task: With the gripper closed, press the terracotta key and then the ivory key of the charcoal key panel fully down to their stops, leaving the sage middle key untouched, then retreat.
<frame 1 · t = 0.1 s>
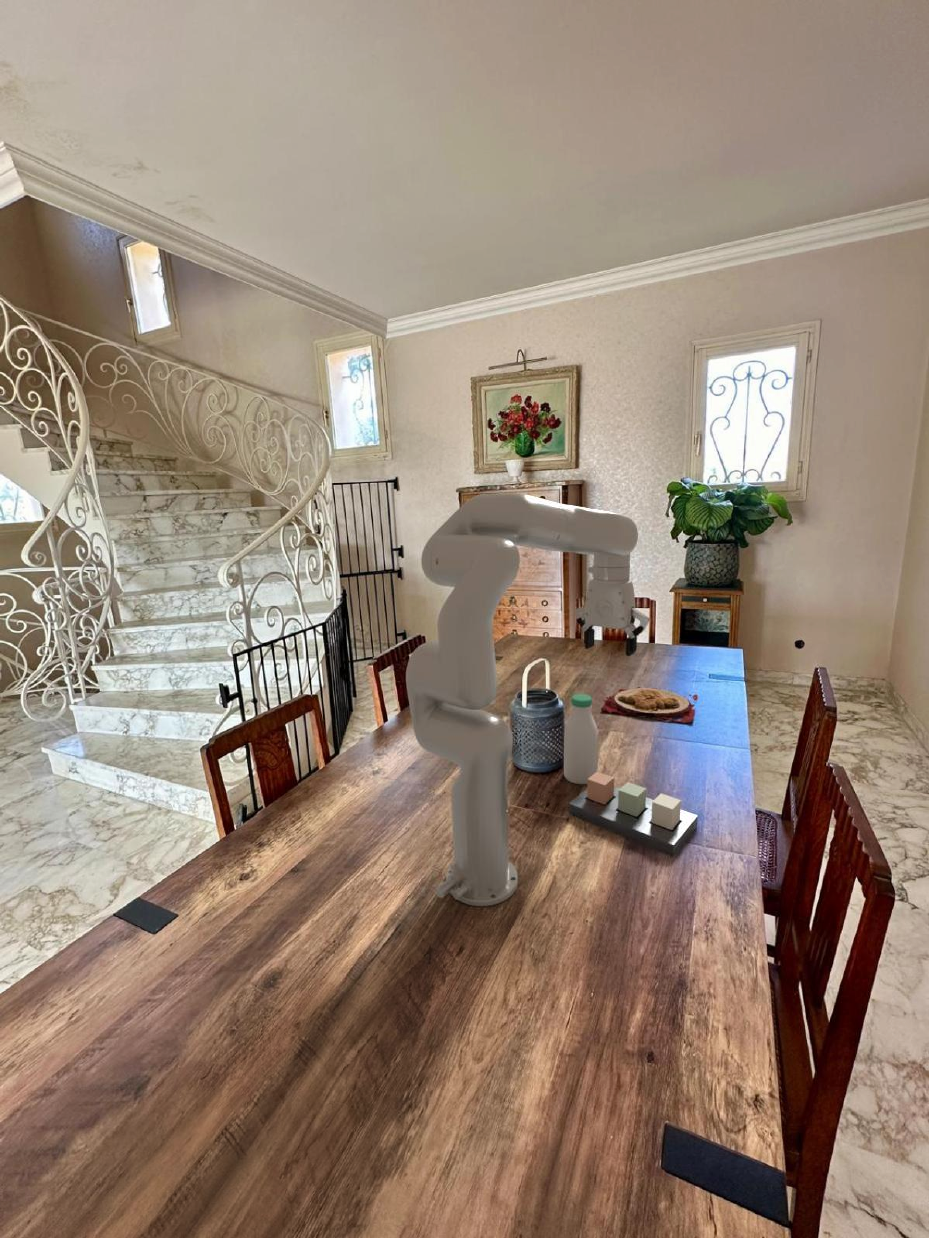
hand: (609, 650, 123), 31 cm above the table, fingers open, 9 cm apart
terracotta key: (600, 787, 118), point 5 cm above the table, slide at 0.0 cm
sage key: (632, 798, 113), point 5 cm above the table, slide at 0.0 cm
ivory key: (666, 811, 108), point 5 cm above the table, slide at 0.0 cm
panel: (631, 820, 114), on the table
plate with food: (650, 706, 173), on the table
milk bottle: (580, 777, 132), on the table
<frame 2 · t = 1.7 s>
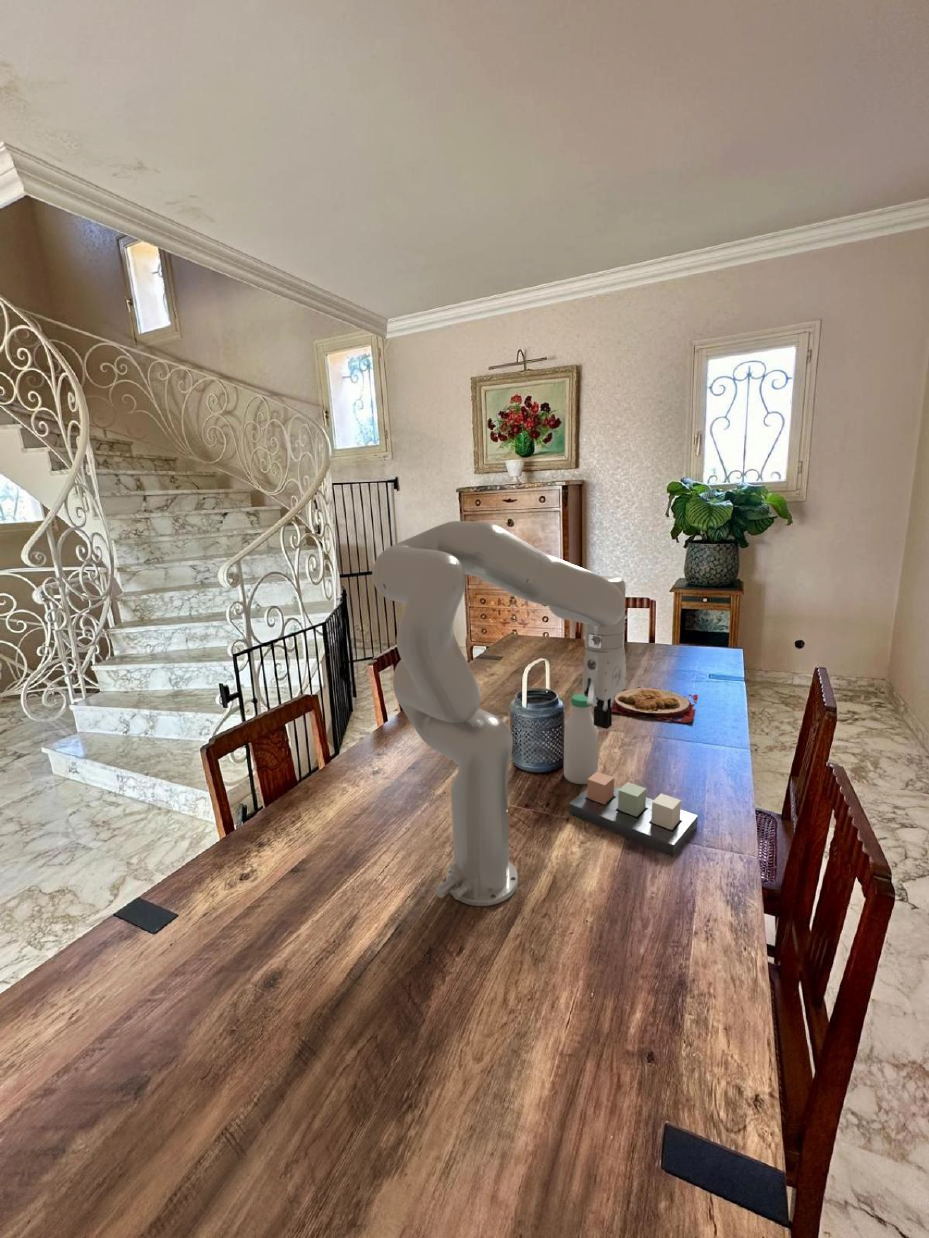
hand: (602, 725, 114), 19 cm above the table, fingers closed
nothing on the table moved.
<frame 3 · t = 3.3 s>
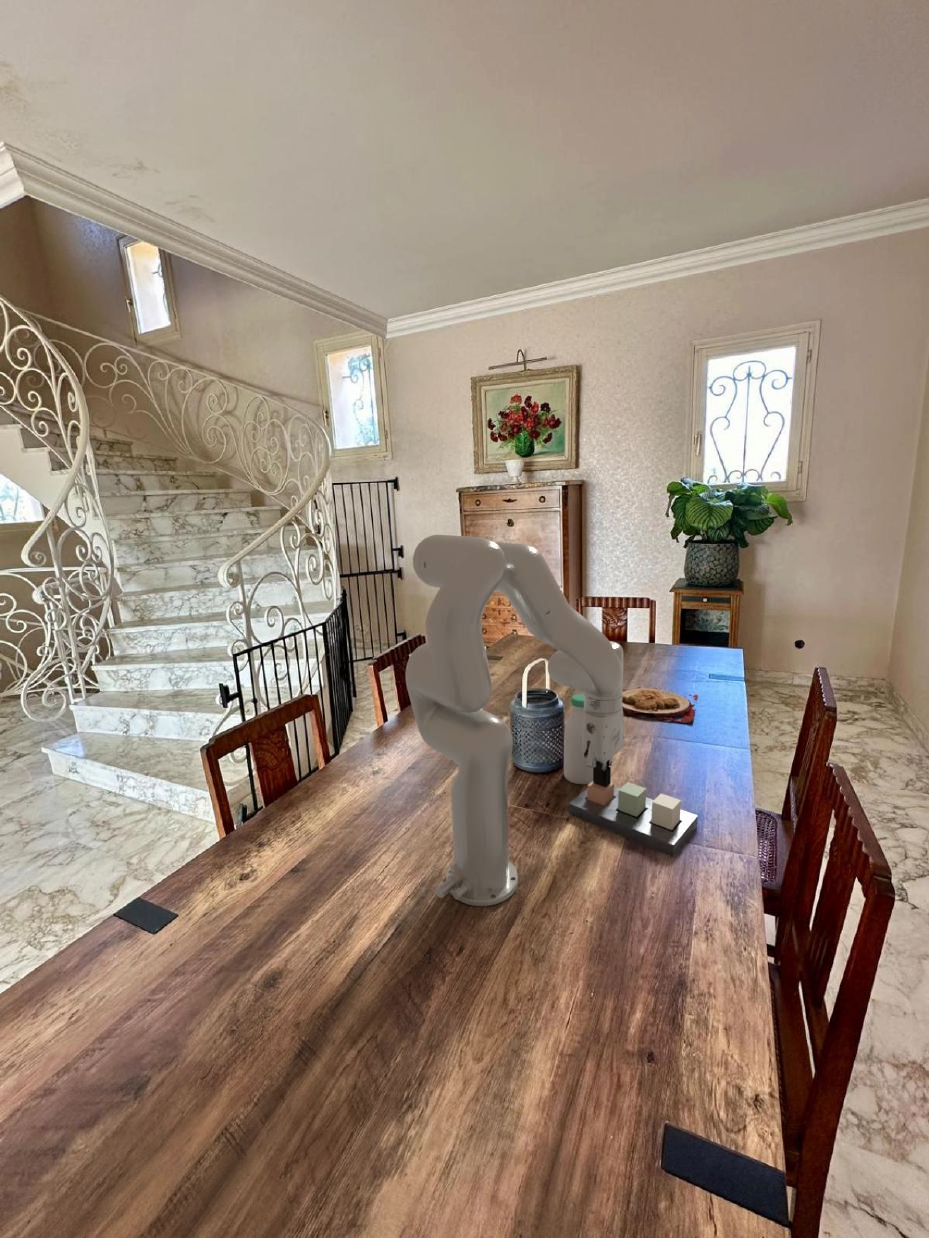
hand: (601, 783, 118), 6 cm above the table, fingers closed
terracotta key: (600, 793, 118), point 4 cm above the table, slide at 1.4 cm, touching gripper
everything else where it was.
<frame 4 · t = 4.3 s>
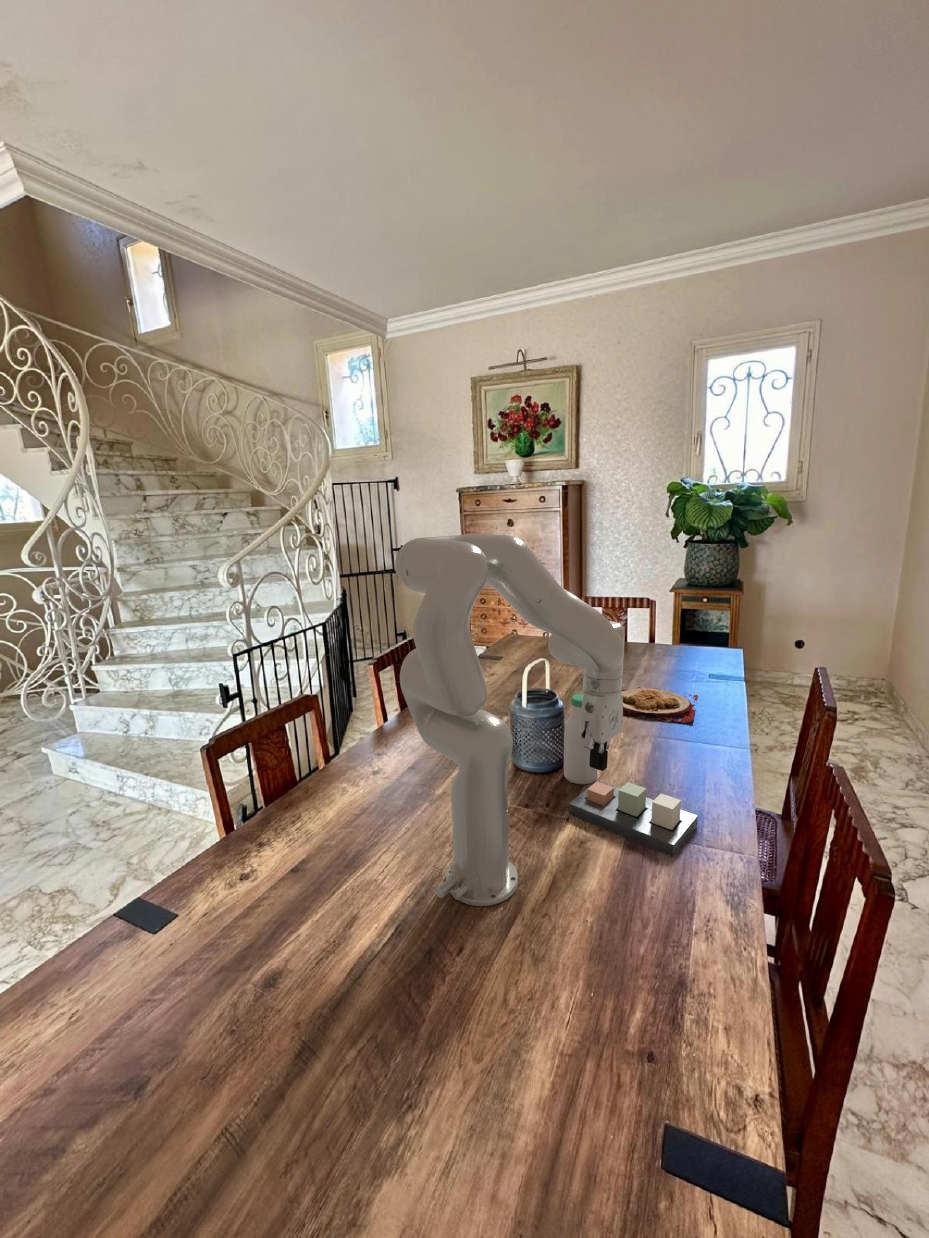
hand: (598, 767, 116), 10 cm above the table, fingers closed
terracotta key: (600, 797, 118), point 3 cm above the table, slide at 2.3 cm
everything else where it was.
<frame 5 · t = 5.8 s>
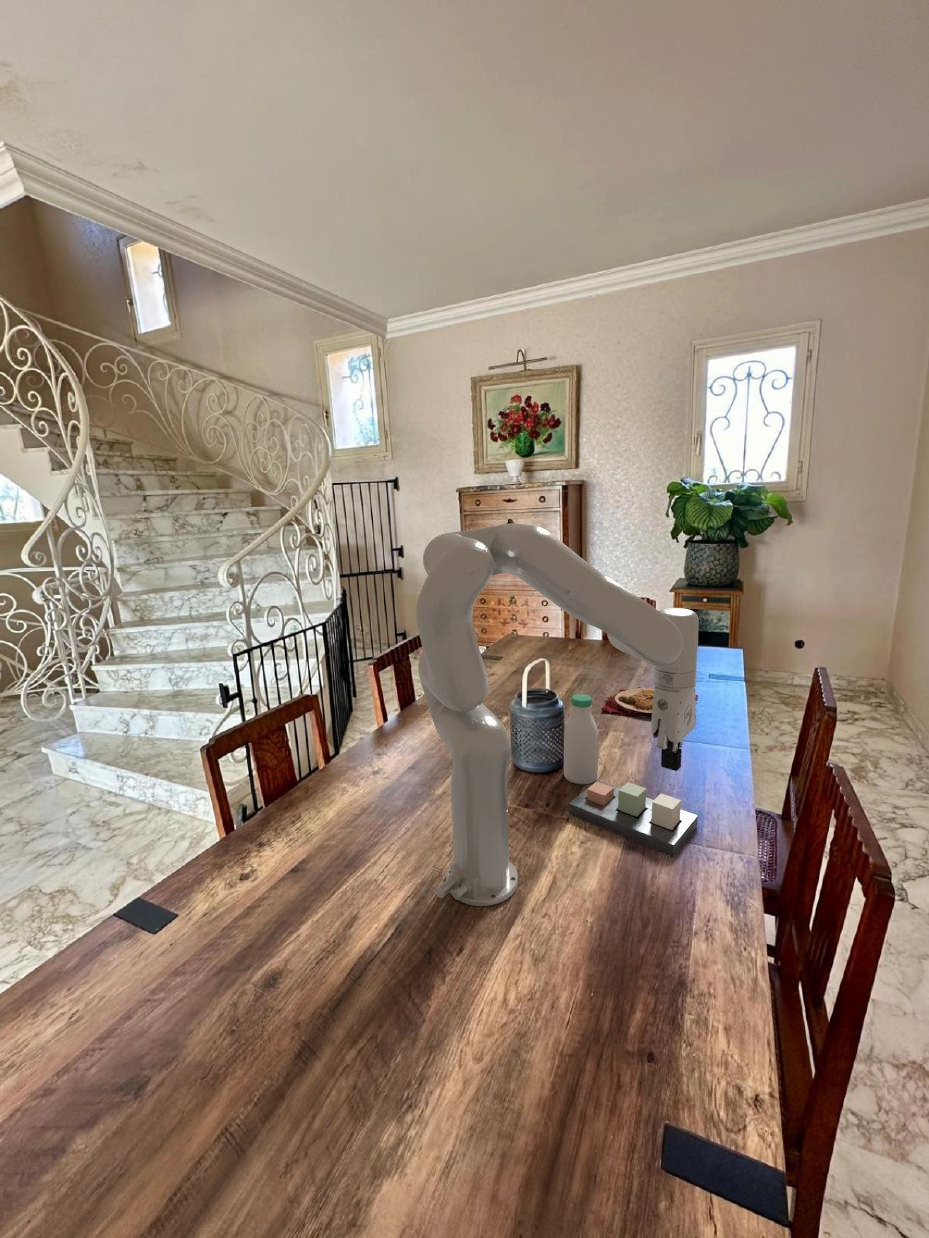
hand: (670, 767, 106), 14 cm above the table, fingers closed
nothing on the table moved.
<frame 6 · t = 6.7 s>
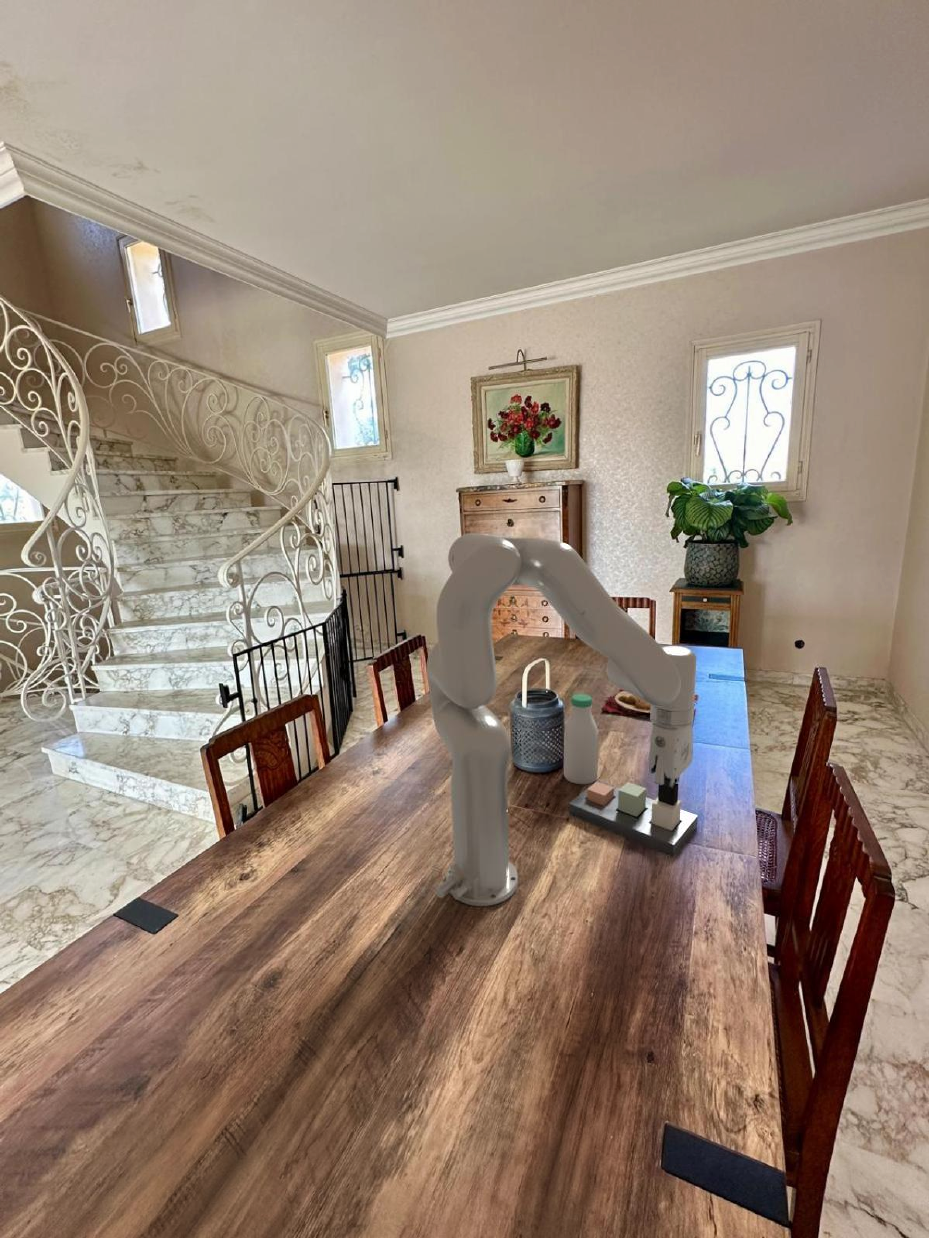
hand: (667, 801, 108), 7 cm above the table, fingers closed
ivory key: (666, 812, 108), point 5 cm above the table, slide at 0.2 cm, touching gripper
everything else where it was.
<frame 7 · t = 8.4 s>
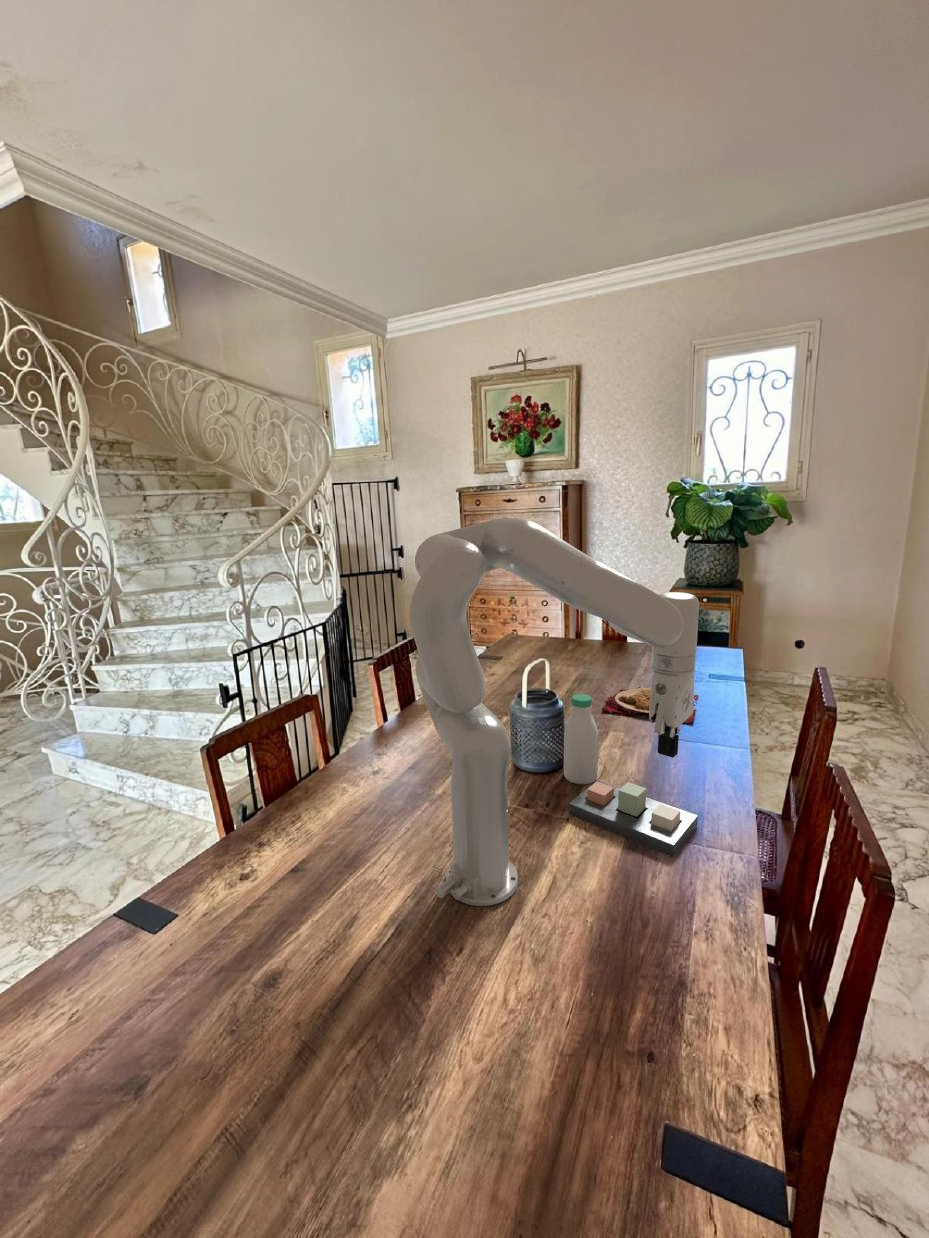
hand: (667, 753, 106), 17 cm above the table, fingers closed
ivory key: (665, 821, 109), point 3 cm above the table, slide at 2.3 cm
everything else where it was.
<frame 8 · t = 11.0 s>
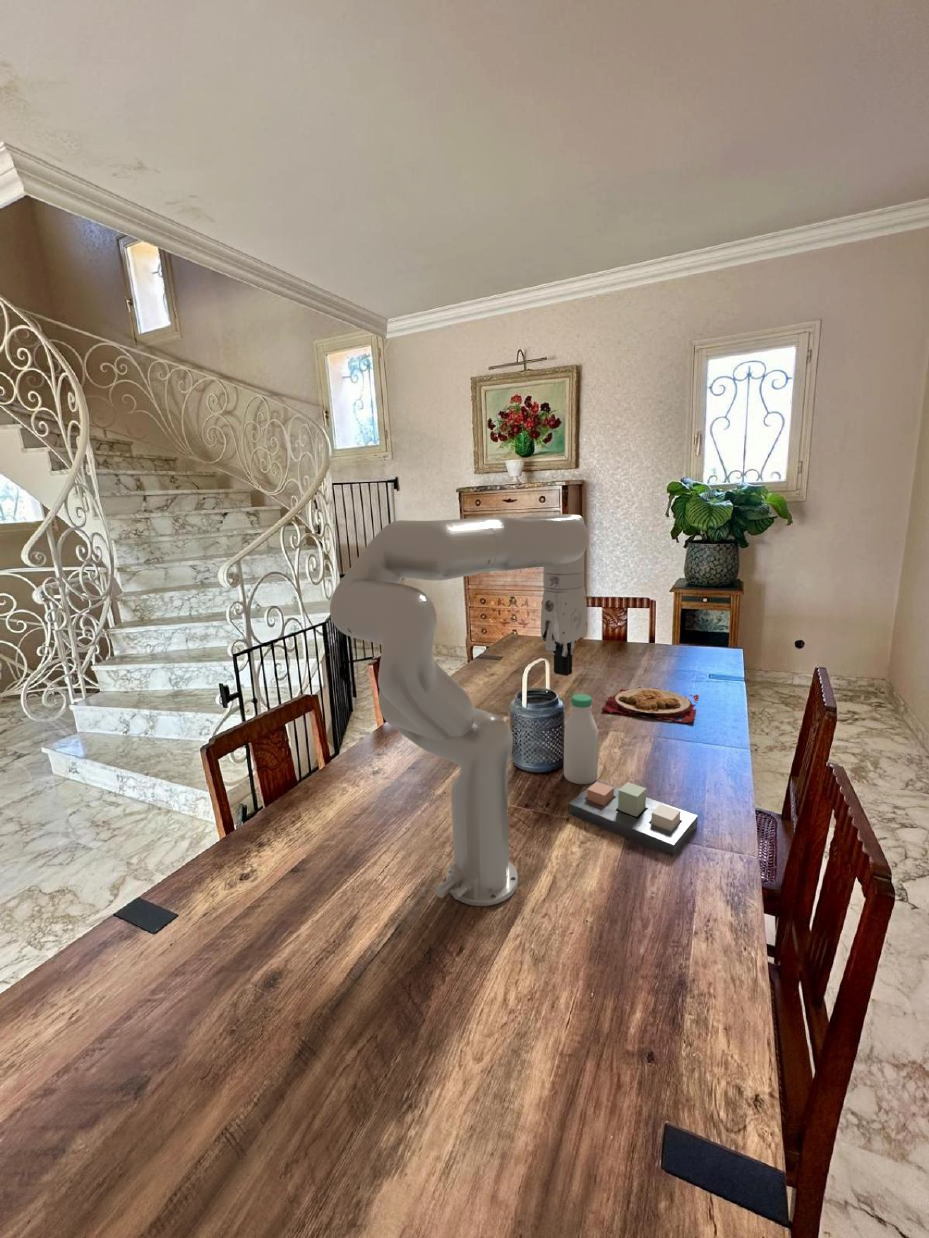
hand: (562, 673, 110), 31 cm above the table, fingers closed
nothing on the table moved.
at the end: terracotta key slide at 2.3 cm; ivory key slide at 2.3 cm; sage key slide at 0.0 cm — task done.
